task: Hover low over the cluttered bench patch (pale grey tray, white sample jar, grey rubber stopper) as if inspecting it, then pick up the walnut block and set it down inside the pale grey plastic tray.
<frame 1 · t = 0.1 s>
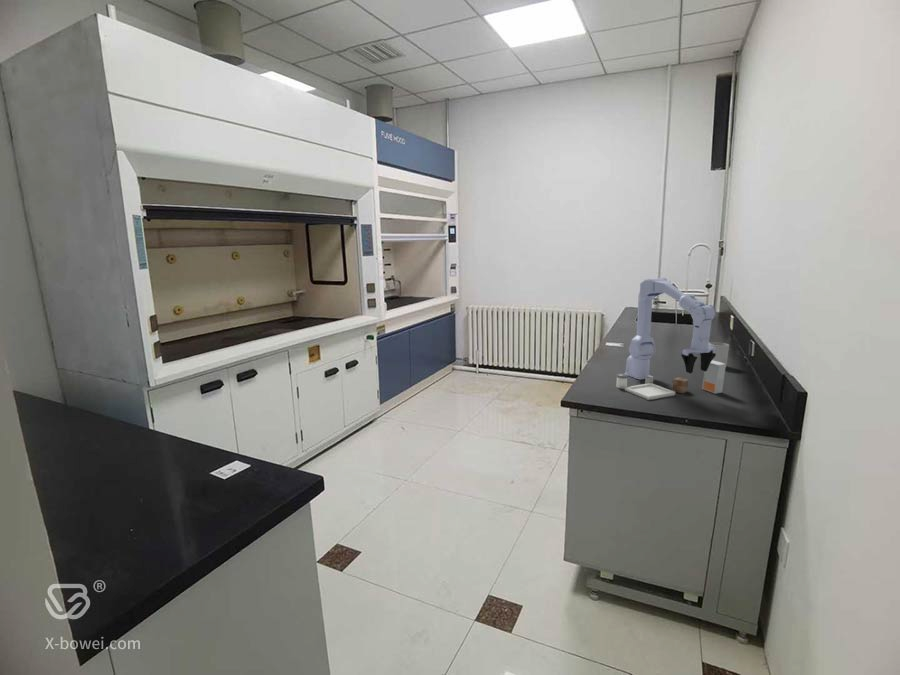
hand: (696, 371, 171), 10 cm above the worktop, fingers open, 7 cm apart
tray: (649, 392, 177), on the worktop
walnut block: (679, 391, 179), on the worktop
sample jar: (621, 387, 184), on the worktop
mug: (711, 365, 215), on the worktop
rubber stopper: (648, 384, 187), on the worktop
skincare box: (711, 391, 179), on the worktop
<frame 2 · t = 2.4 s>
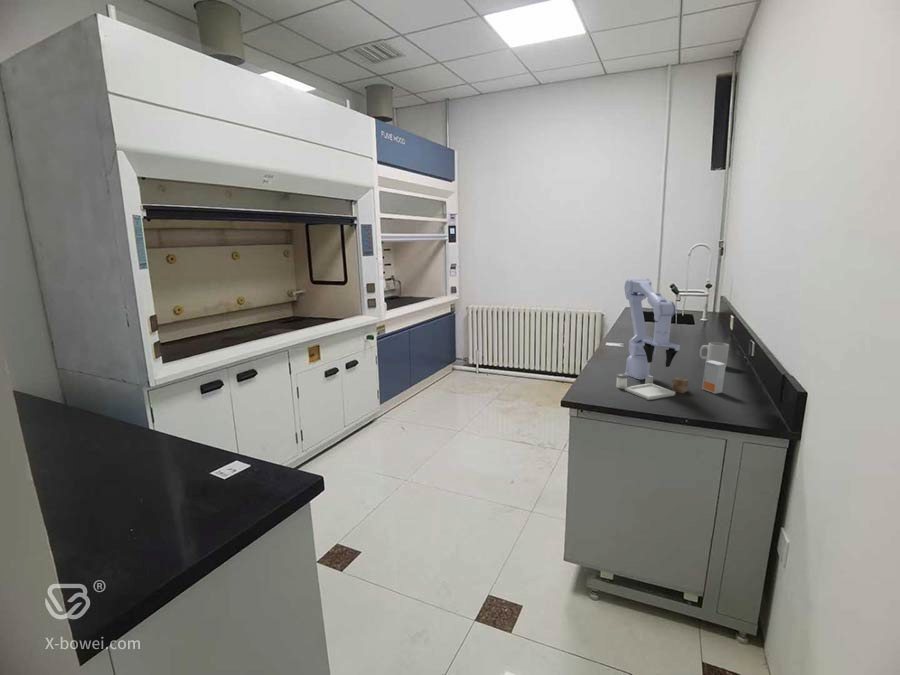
hand: (658, 364, 181), 10 cm above the worktop, fingers open, 7 cm apart
nothing on the worktop moved.
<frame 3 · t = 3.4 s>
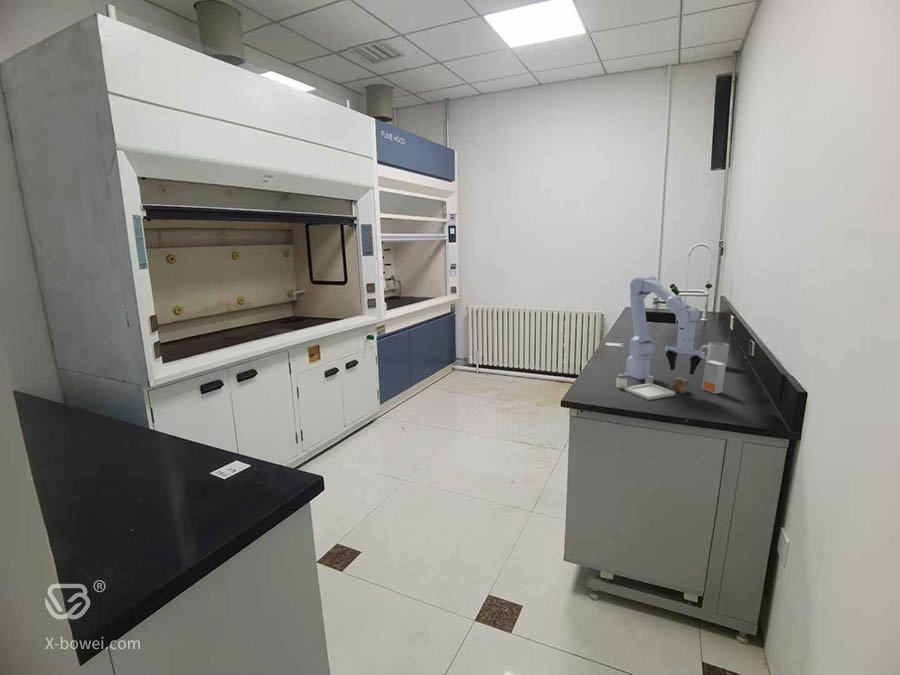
hand: (681, 371, 177), 8 cm above the worktop, fingers open, 7 cm apart
nothing on the worktop moved.
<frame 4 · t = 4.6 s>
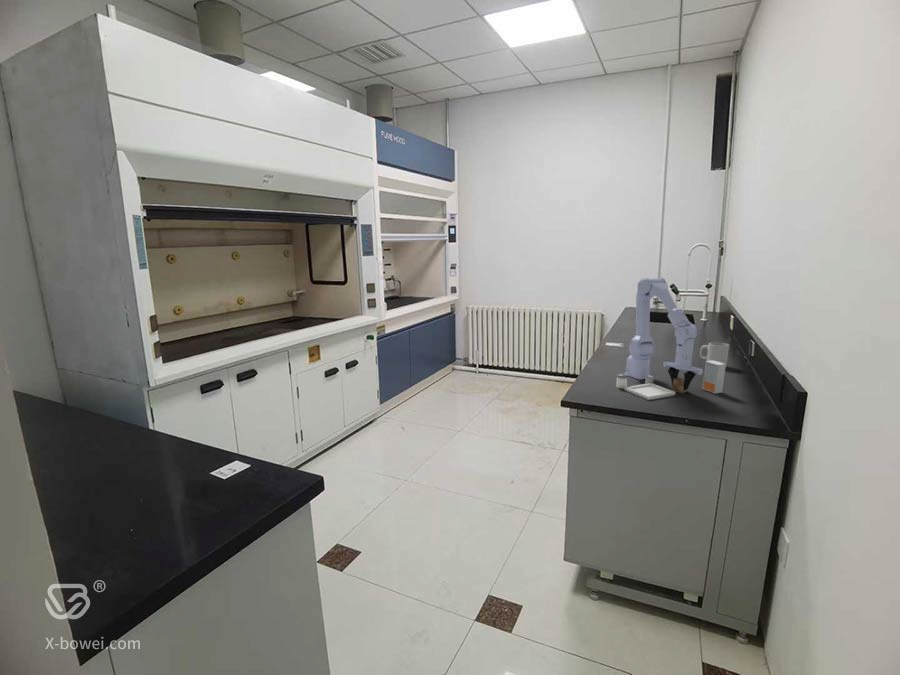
hand: (680, 387, 179), 1 cm above the worktop, fingers closed on walnut block, 4 cm apart
walnut block: (679, 391, 179), on the worktop, touching gripper
everything else where it was.
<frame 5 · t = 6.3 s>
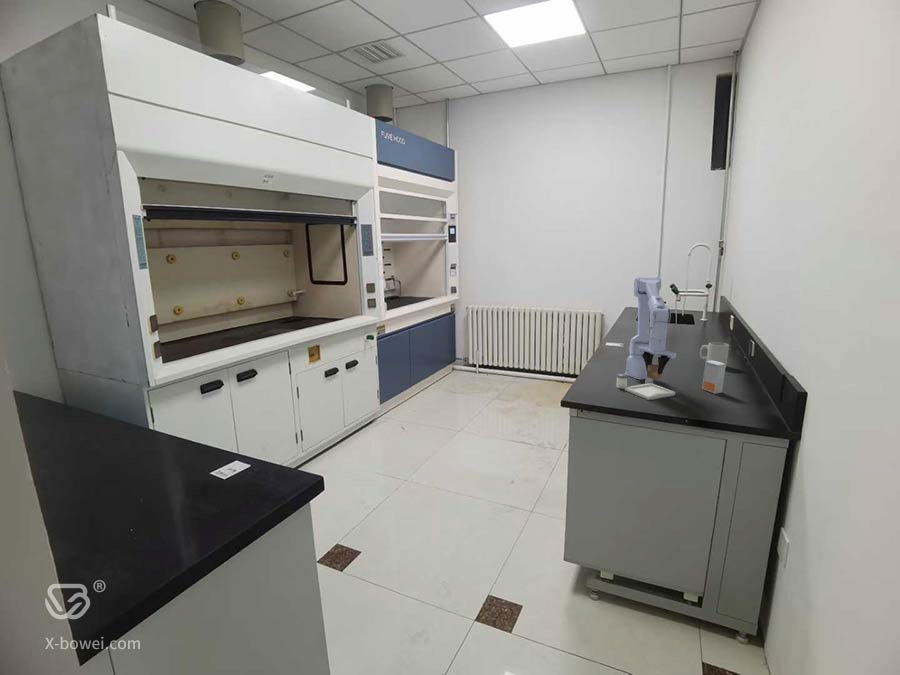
hand: (654, 372, 175), 8 cm above the worktop, fingers closed on walnut block, 4 cm apart
walnut block: (654, 377, 176), point 6 cm above the worktop, touching gripper
everything else where it was.
when the fingers open (3 cm above the worktop, at t = 7.9 s): walnut block stays where it is, resting on tray.
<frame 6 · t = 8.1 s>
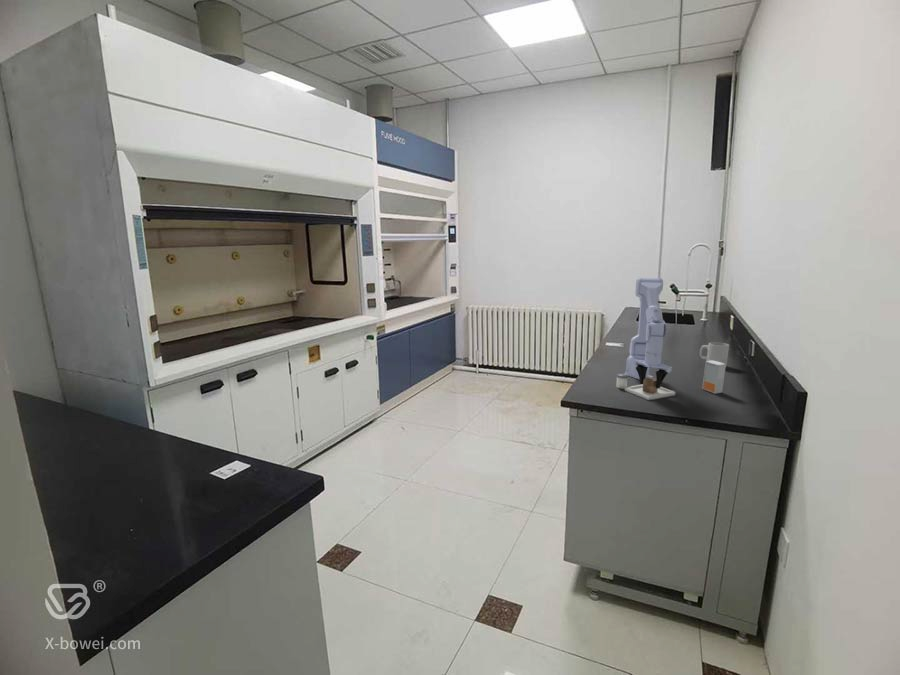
hand: (650, 385, 176), 3 cm above the worktop, fingers open, 6 cm apart
walnut block: (649, 391, 177), point 1 cm above the worktop, touching tray
everything else where it was.
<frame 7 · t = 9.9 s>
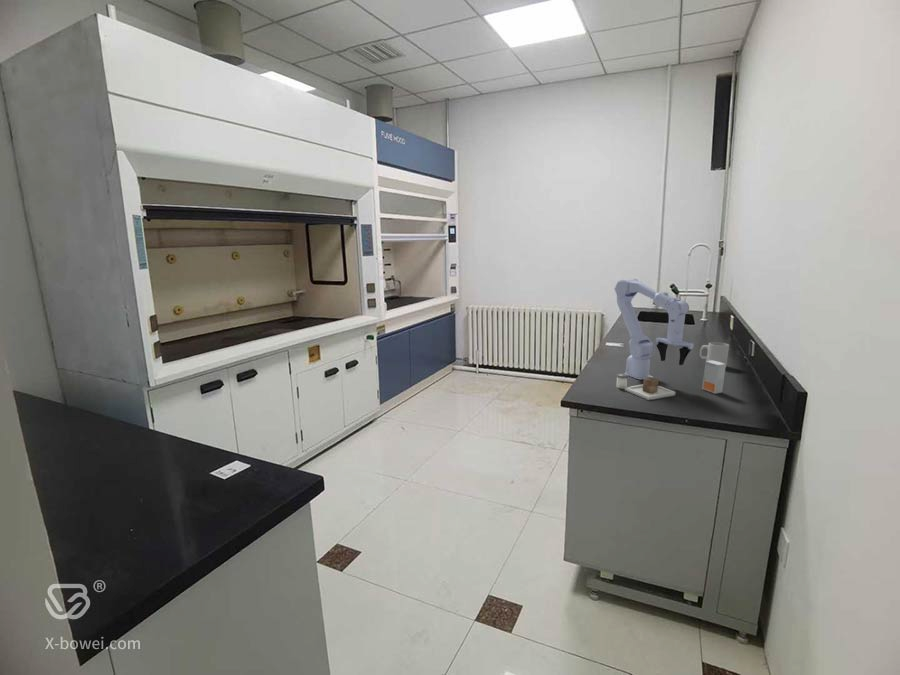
hand: (671, 362, 184), 10 cm above the worktop, fingers open, 7 cm apart
nothing on the worktop moved.
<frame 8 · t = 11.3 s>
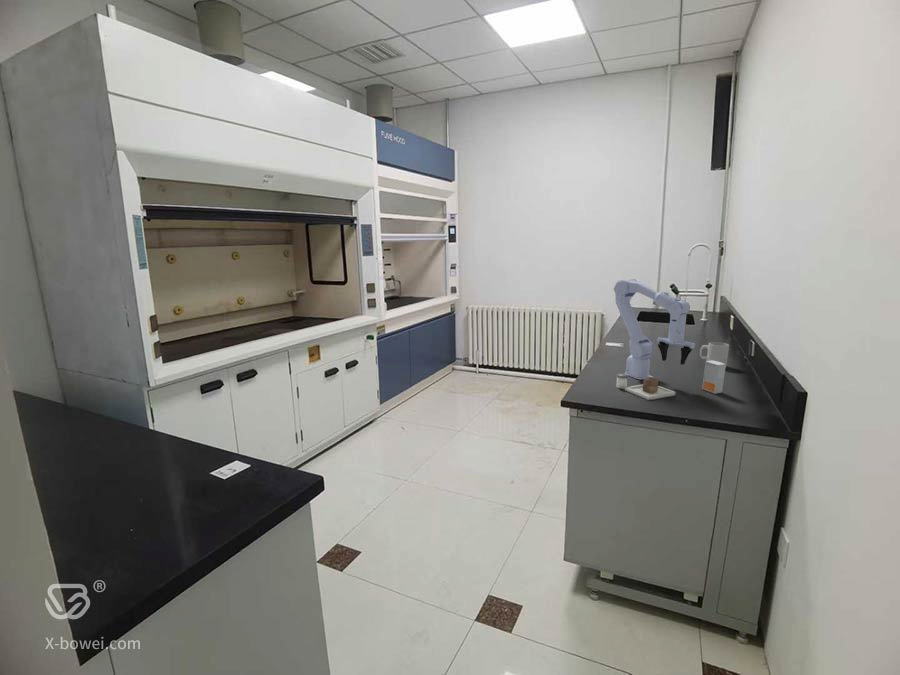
hand: (673, 362, 184), 10 cm above the worktop, fingers open, 7 cm apart
nothing on the worktop moved.
at the end: walnut block inside the target area on the tray (0.2 cm from its centre), point 0.6 cm above the tray's base; the gripper is holding nothing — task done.
